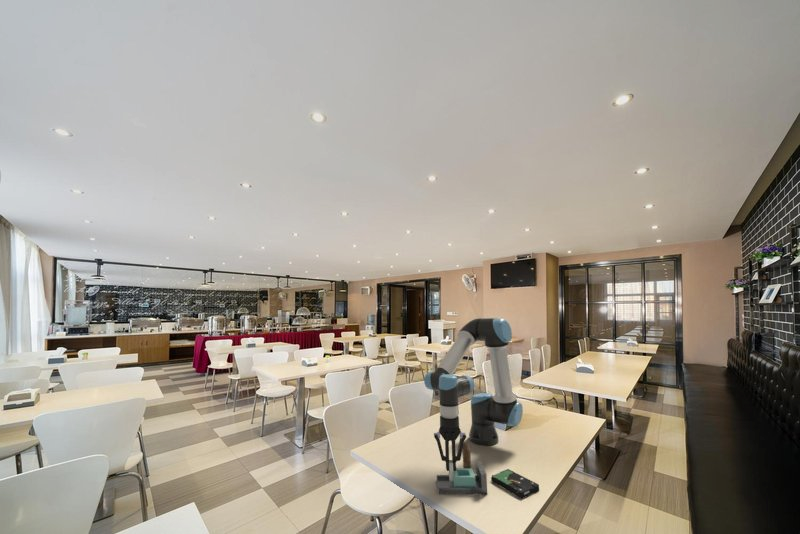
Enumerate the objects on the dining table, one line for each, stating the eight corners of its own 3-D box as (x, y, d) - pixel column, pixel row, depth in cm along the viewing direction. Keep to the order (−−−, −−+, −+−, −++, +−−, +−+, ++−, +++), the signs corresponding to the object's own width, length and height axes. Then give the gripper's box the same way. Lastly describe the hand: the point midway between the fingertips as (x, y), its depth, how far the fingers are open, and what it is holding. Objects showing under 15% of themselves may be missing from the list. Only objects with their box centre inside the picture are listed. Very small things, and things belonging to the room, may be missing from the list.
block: (472, 479, 126) (472, 468, 127) (475, 488, 119) (475, 477, 120) (452, 479, 126) (451, 468, 127) (454, 488, 120) (454, 477, 120)
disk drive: (540, 492, 120) (508, 475, 132) (539, 484, 120) (507, 468, 133) (522, 501, 114) (490, 482, 127) (521, 492, 115) (490, 474, 127)
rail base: (481, 480, 127) (480, 461, 128) (487, 494, 117) (486, 474, 119) (436, 480, 128) (436, 461, 129) (438, 493, 118) (438, 473, 119)
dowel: (470, 473, 133) (469, 443, 135) (472, 477, 130) (470, 446, 132) (462, 473, 133) (461, 442, 135) (464, 477, 130) (462, 446, 132)
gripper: (464, 412, 130) (466, 474, 127) (432, 412, 131) (434, 474, 127) (467, 418, 123) (469, 484, 119) (433, 418, 123) (435, 484, 120)
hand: (451, 479), depth 123 cm, fingers closed
